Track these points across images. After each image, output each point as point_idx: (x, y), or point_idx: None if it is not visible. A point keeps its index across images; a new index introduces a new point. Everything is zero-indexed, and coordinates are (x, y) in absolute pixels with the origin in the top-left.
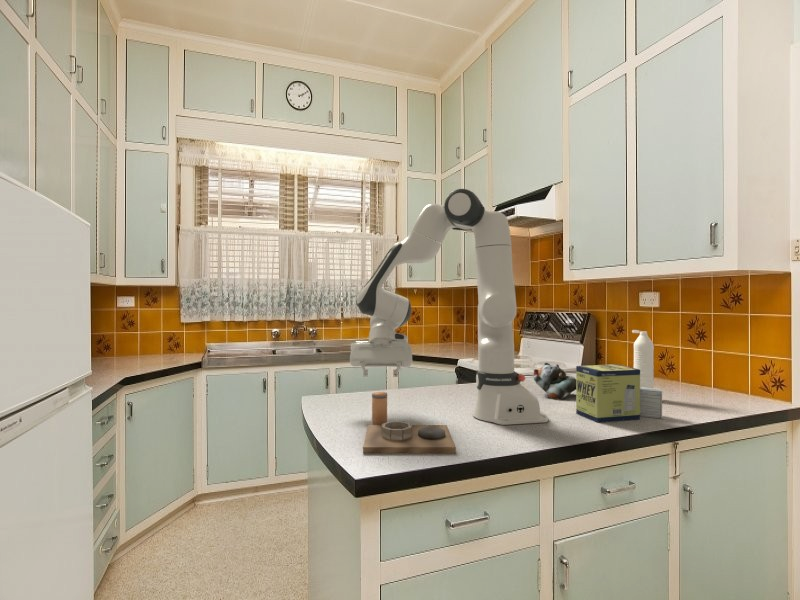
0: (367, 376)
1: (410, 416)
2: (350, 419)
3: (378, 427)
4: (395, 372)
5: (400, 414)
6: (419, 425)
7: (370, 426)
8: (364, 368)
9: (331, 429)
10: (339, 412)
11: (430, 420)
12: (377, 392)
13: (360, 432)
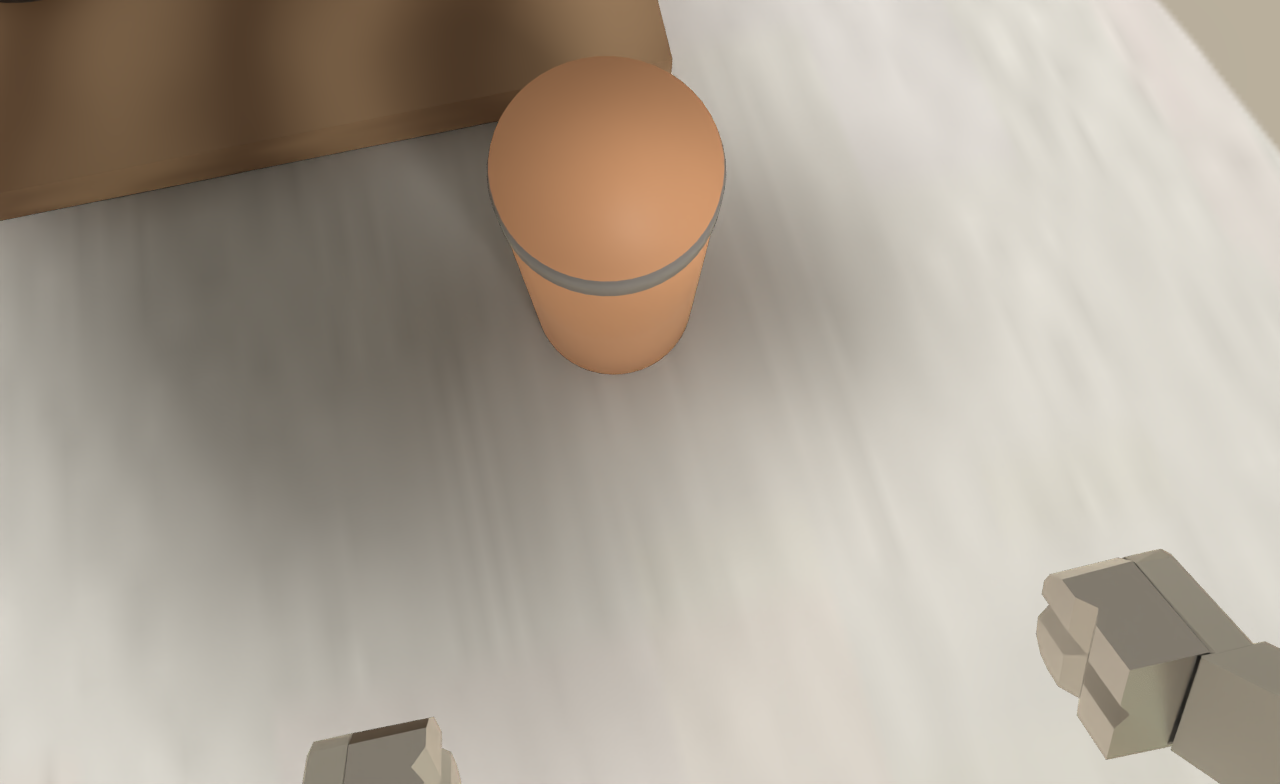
0: (1045, 623)
1: (334, 665)
2: (966, 396)
3: (549, 4)
4: (367, 760)
5: (466, 728)
6: (156, 141)
7: (633, 18)
8: (1247, 667)
9: (1010, 46)
10: None
11: (90, 549)
12: (657, 219)
13: (719, 19)
